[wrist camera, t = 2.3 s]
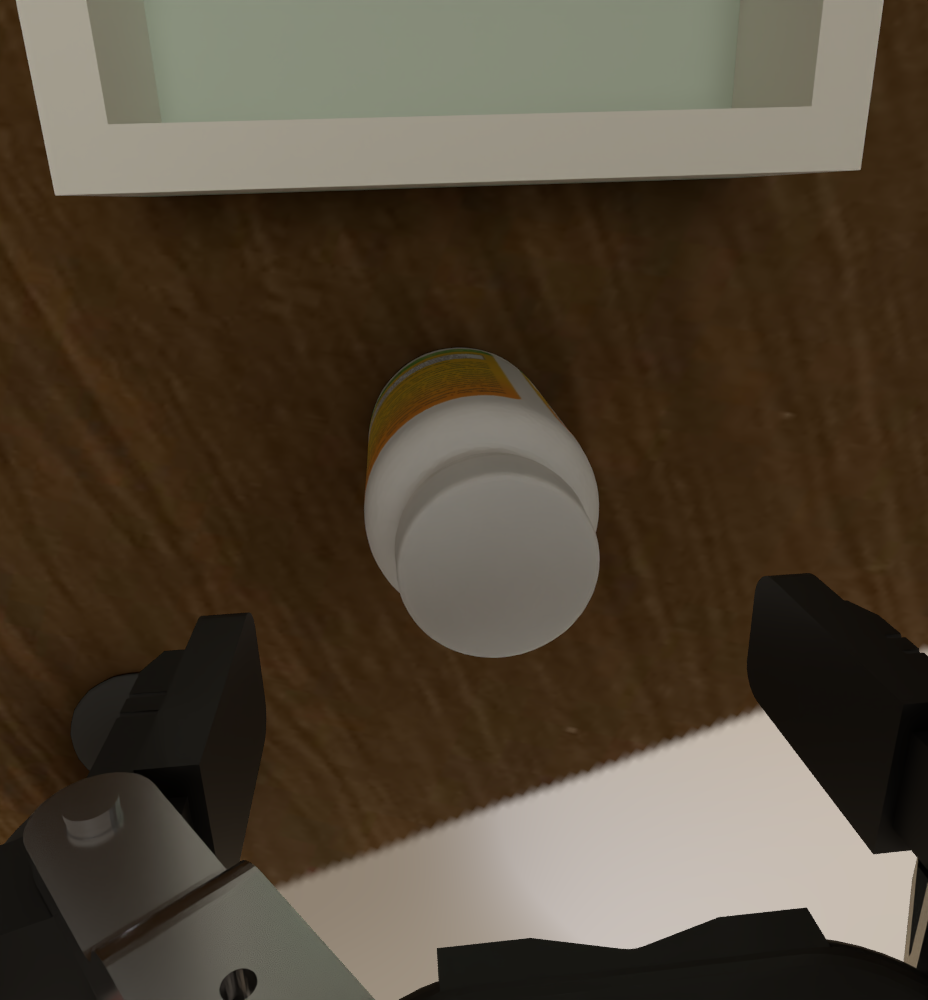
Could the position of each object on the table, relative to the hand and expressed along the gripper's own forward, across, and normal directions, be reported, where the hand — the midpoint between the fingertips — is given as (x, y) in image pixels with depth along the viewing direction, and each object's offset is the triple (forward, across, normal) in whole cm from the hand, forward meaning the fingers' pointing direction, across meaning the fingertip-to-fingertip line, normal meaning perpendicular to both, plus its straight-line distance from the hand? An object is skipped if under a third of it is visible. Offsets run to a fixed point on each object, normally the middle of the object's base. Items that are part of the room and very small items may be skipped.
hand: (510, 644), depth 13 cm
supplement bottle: (+13, 0, 0) cm, 13 cm away
